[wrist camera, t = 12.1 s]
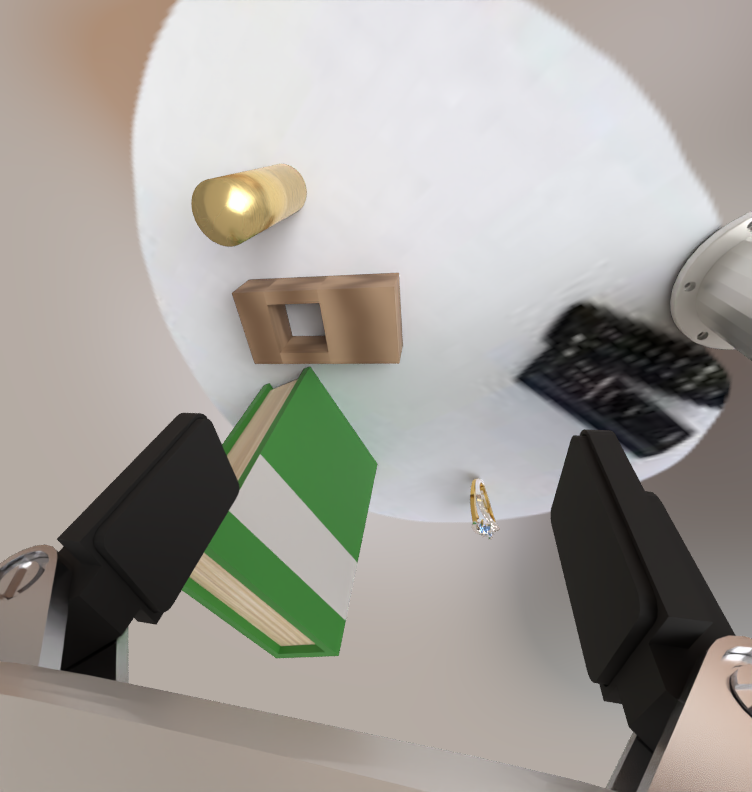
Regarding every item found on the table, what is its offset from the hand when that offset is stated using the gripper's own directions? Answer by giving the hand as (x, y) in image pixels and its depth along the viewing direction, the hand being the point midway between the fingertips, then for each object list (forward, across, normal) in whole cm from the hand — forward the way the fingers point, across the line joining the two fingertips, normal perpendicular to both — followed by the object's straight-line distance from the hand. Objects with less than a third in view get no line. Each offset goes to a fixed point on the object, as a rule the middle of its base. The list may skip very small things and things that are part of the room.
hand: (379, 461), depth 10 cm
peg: (+29, +13, -4) cm, 33 cm away
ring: (+30, -7, +34) cm, 46 cm away
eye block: (+29, +11, +8) cm, 33 cm away
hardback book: (+30, +15, +24) cm, 41 cm away
